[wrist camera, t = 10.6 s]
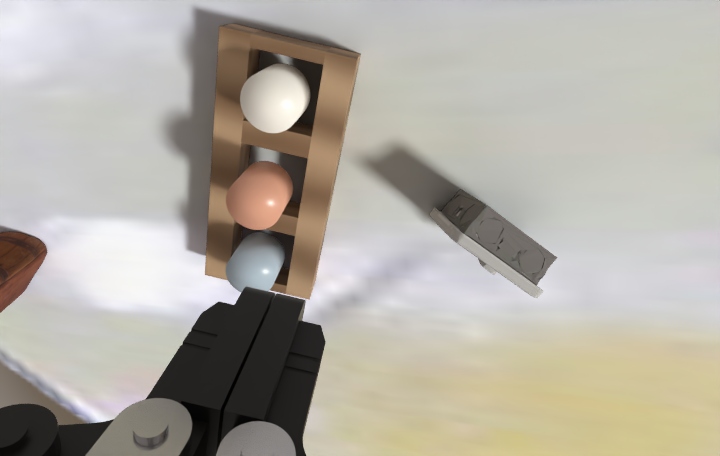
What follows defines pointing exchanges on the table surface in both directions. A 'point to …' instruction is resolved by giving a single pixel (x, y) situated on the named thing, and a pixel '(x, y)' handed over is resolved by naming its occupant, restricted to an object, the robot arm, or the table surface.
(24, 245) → the wooden figurine
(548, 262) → the electrical switch
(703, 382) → the table surface
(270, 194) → the pink rounded piece
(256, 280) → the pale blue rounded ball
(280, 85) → the white egg
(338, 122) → the wooden egg rack
